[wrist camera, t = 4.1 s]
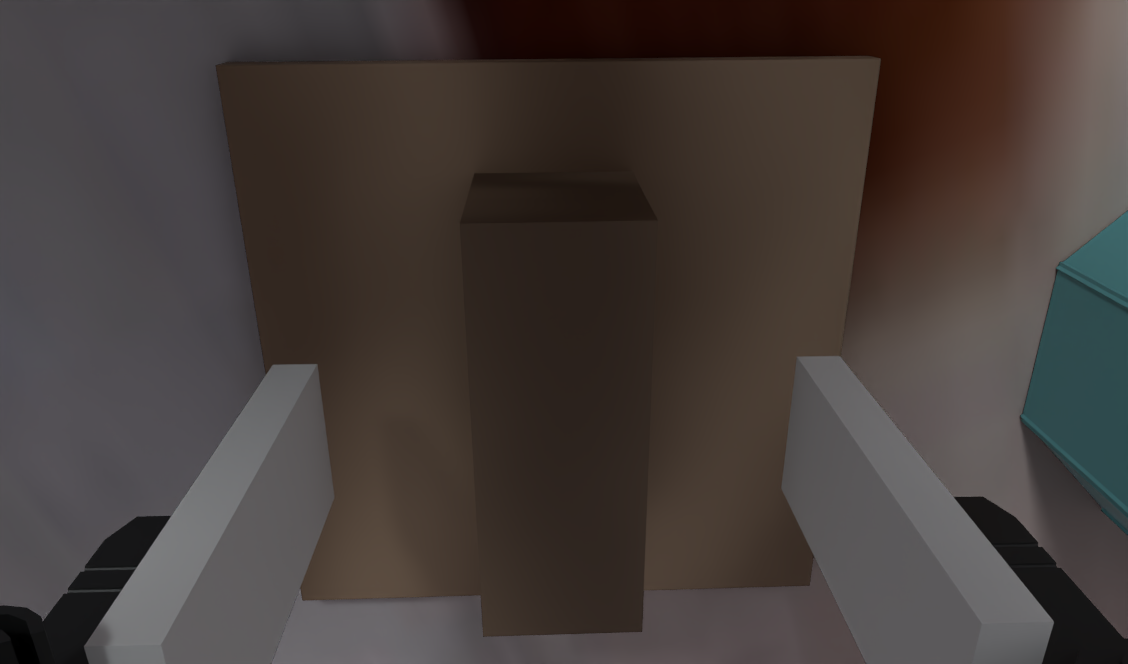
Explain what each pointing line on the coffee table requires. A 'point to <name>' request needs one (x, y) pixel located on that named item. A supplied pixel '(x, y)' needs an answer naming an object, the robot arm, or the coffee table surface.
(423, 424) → the walnut lid
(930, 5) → the coffee table surface
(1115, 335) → the teal bowl
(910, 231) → the coffee table surface
